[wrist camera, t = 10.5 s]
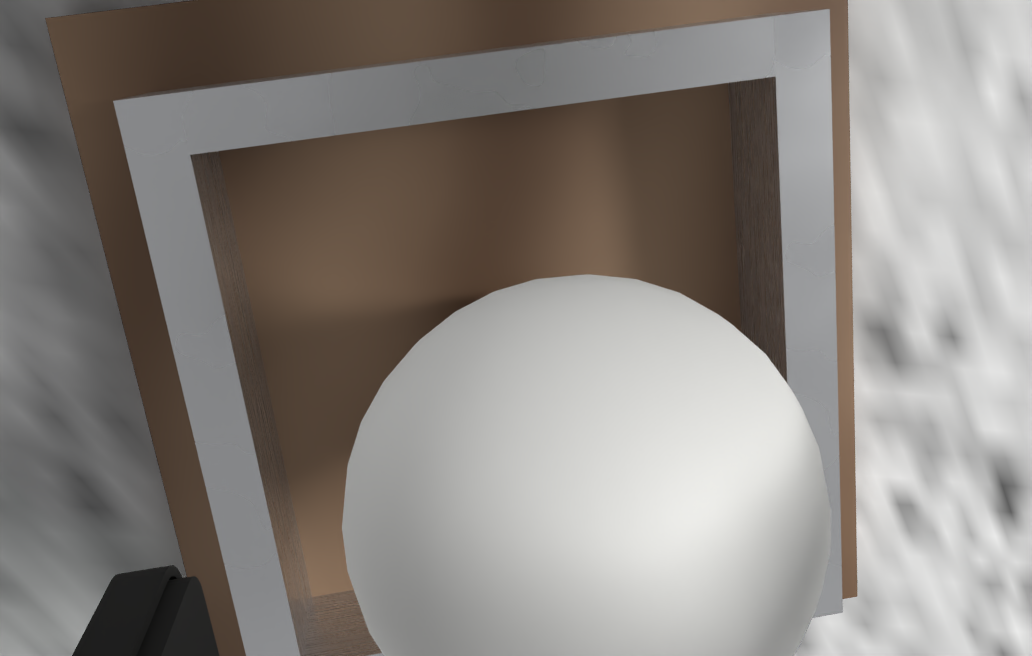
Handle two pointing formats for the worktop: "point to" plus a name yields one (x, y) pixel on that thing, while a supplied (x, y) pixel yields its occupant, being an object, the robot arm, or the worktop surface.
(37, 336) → the worktop surface
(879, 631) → the worktop surface
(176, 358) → the square picture frame
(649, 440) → the lightbulb
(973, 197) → the worktop surface
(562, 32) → the socket base
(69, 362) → the worktop surface
